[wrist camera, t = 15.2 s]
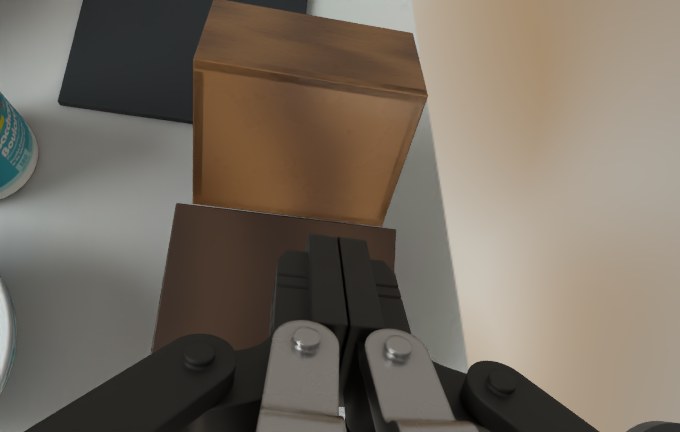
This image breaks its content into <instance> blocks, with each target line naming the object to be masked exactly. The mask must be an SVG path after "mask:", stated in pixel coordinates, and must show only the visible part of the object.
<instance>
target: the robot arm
mask: <svg viewBox="0 0 680 432" xmlns="http://www.w3.org/2000/svg"><path fill="white" fill-rule="evenodd" d="M339 407H345V421H344V418H343V417H342V416H339ZM24 432H599V431H598V430H596V429H595V428H594V427H592V426H591V425H589V424H588V423H587V422H585V421H584V420H583V419H581V418H580V417H578V416H577V415H576V414H575V413H573V412H572V411H570V410H569V409H568V408H566V407H565V406H564V405H562V404H561V403H560V402H558V401H557V400H555V399H554V398H553V397H551V396H550V395H549V394H547V393H546V392H545V391H543V390H542V389H540V388H539V387H538V386H536V385H535V384H533V383H532V382H531V381H529V380H528V379H527V378H525V377H524V376H523V375H521V374H520V373H519V372H517V371H516V370H514V369H512V368H511V367H509V366H506V365H504V364H502V363H498V362H493V361H480V362H477V363H475V364H473V365H472V366H471V367H470V368H469V370H468V372H467V374H465V373H462V372H459V371H456V370H453V369H450V368H447V367H444V366H442V365H439V364H437V363H435V362H433V361H432V360H431V358H430V355H429V353H428V351H427V349H426V347H425V346H424V344H423V343H422V342H421V341H420V340H418V339H417V338H416V337H414V336H413V335H411V332H410V328H409V324H408V321H407V317H406V313H405V310H404V306H403V302H402V300H401V295H400V291H399V289H398V284H397V280H396V277H395V273H394V272H393V271H392V270H391V269H390V267H389V266H388V265H387V264H386V263H385V262H384V261H381V260H373V259H370V255H369V250H368V246H367V241H366V240H363V239H355V238H347V237H338V238H337V237H336V236H329V235H321V234H313V233H309V234H308V237H307V241H306V247H305V252H303V251H295V250H286V251H285V252H284V253H283V255H282V256H281V257H280V258H279V259H278V263H277V269H276V276H275V282H274V289H273V296H272V302H271V310H270V325H269V338H268V339H266V340H265V341H264V342H262V343H261V344H259V345H257V346H254V347H251V348H247V349H242V350H235V351H234V349H233V347H232V346H231V345H230V344H229V343H228V342H227V341H225V340H224V339H222V338H220V337H217V336H214V335H210V334H190V335H185V336H182V337H180V338H178V339H176V340H174V341H172V342H171V343H169V344H167V345H166V346H164V347H162V348H161V349H159V350H157V351H156V352H154V353H152V354H151V355H149V356H148V357H146V358H144V359H143V360H141V361H139V362H138V363H136V364H134V365H133V366H131V367H129V368H128V369H126V370H125V371H123V372H121V373H120V374H118V375H116V376H115V377H113V378H111V379H110V380H108V381H106V382H105V383H103V384H102V385H100V386H98V387H97V388H95V389H93V390H92V391H90V392H88V393H87V394H85V395H83V396H82V397H80V398H78V399H77V400H75V401H74V402H72V403H70V404H69V405H67V406H65V407H64V408H62V409H60V410H59V411H57V412H55V413H54V414H52V415H51V416H49V417H47V418H46V419H44V420H42V421H41V422H39V423H37V424H36V425H34V426H32V427H31V428H29V429H28V430H26V431H24Z"/></svg>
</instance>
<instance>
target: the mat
mask: <svg viewBox="0 0 680 432" xmlns="http://www.w3.org/2000/svg"><path fill="white" fill-rule="evenodd" d="M227 1H233V2H238V3H244V4H250V5H255V6H261V7H267V8H272V9H278V10H283V11H289V12H295V13H300V14H306V7H307V0H227ZM212 3H213V0H83V3H82V7H81V11H80V15H79V19H78V23H77V27H76V31H75V35H74V39H73V43H72V47H71V51H70V55H69V59H68V63H67V67H66V71H65V75H64V79H63V83H62V87H61V91H60V95H59V99H58V102H59V104H60V105H64V106H71V107H78V108H86V109H93V110H100V111H107V112H114V113H121V114H128V115H135V116H142V117H149V118H156V119H163V120H170V121H177V122H184V123H191V124H193V58H194V55H195V53H196V50H197V47H198V44H199V41H200V38H201V35H202V32H203V29H204V26H205V23H206V20H207V17H208V14H209V11H210V8H211V5H212Z"/></svg>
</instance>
